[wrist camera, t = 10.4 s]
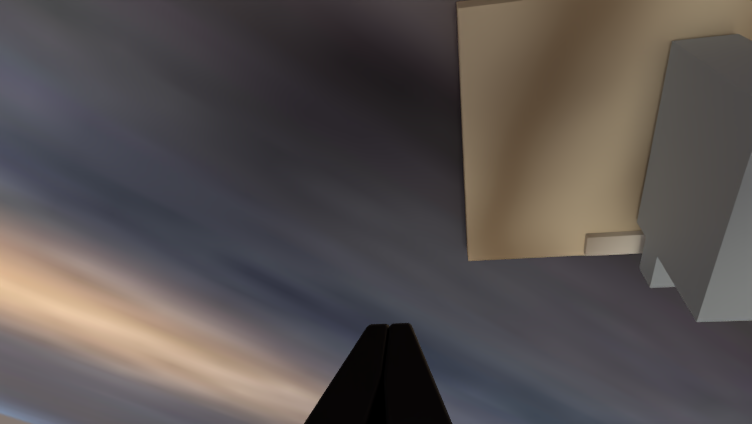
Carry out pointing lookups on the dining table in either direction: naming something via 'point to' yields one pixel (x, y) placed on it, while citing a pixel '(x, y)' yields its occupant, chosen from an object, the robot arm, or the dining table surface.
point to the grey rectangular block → (702, 180)
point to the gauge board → (567, 116)
